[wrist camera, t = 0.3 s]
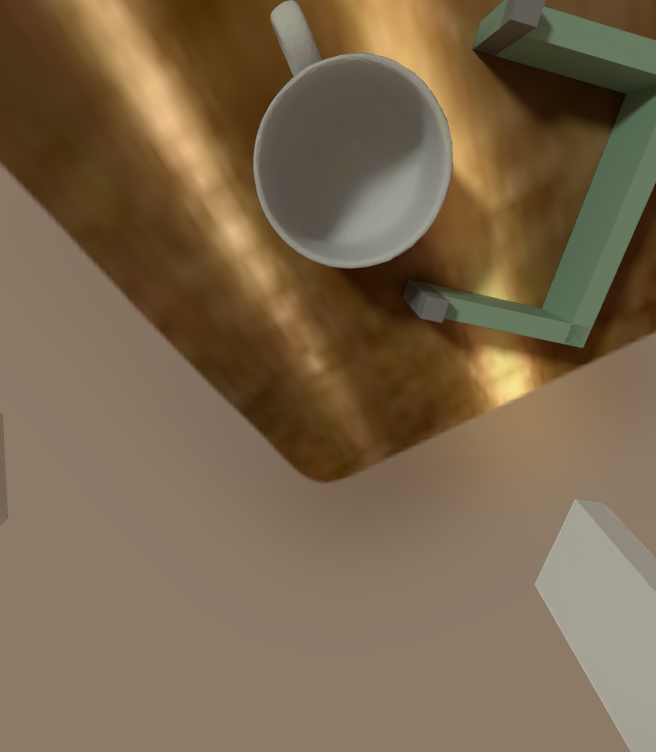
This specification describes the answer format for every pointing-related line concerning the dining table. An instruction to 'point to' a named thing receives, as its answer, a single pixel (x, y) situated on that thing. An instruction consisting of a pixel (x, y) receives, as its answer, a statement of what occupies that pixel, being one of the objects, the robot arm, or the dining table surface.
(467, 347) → the dining table surface
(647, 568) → the robot arm
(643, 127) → the tray
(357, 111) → the teacup
